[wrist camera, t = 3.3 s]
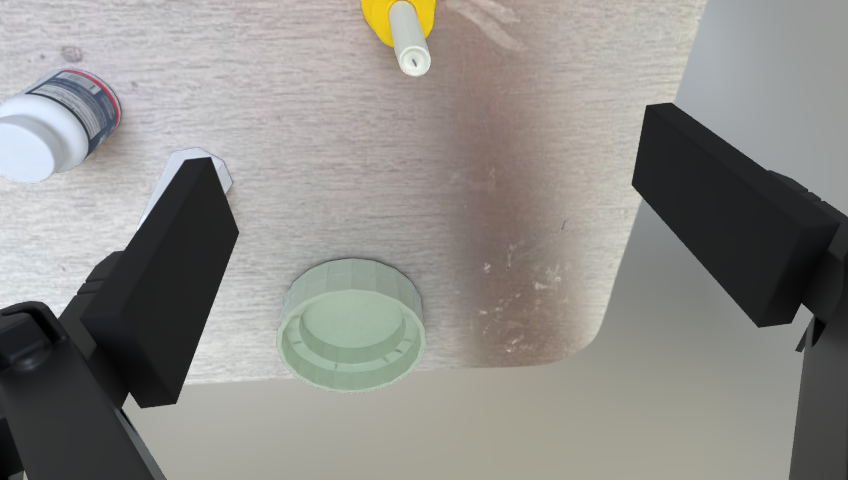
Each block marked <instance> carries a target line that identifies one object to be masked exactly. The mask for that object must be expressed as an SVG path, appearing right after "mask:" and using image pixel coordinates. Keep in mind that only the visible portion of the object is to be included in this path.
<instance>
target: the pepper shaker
mask: <svg viewBox="0 0 848 480" xmlns="http://www.w3.org/2000/svg"><path fill="white" fill-rule="evenodd" d="M203 157H211V158H212V161H213V163H214V166H215V169H216V171H217V174H218V177H219V180H220V182H221V185H222V188H223V190H224V193H225V194H226V193H227V191H228V189H229V188H230V186H231V184H232V181H231V179H230V176H229V174H228V172H227V169H226V167H225V164H224V162H223V161H222V160H220V159H218V158H217V157H215V156H213V155H211V154H209V153H207V152H205V151H203V150H202V149H200V148H192V149H186V150H181V151H175V152H172V153H171V155H170V157H169V159H168V161H167V163H166V165H165V167H164V169H163V171H162V173H161V175H160V177H159V179H158V182H157V184H156V186H155V188H154V190H153V193H152V195H151V197H150V199H149V201H148V203H147V206H146V208H145V210H144V212H143V214H142V216H141V219H140V221H139V223H138V226H137V229H136V231H138V229H139V228H140V226H141V225H142V223H143V222H144V220H145V219H146V217H147V216H148V214H149V213H150V211H151V210H152V208H153V207H154V205H155V204H156V202H157V201H158V199H159V198H160V196H161V195H162V193H163V192H164V190H165V189H166V187H167V186H168V184H169V183H170V181H171V180H172V178H173V177H174V175H175V174H176V172H177V171H178V169H179V168H180V166H181V165H182V163H183V162H184V160H186V159H194V158H203Z"/></svg>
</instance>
